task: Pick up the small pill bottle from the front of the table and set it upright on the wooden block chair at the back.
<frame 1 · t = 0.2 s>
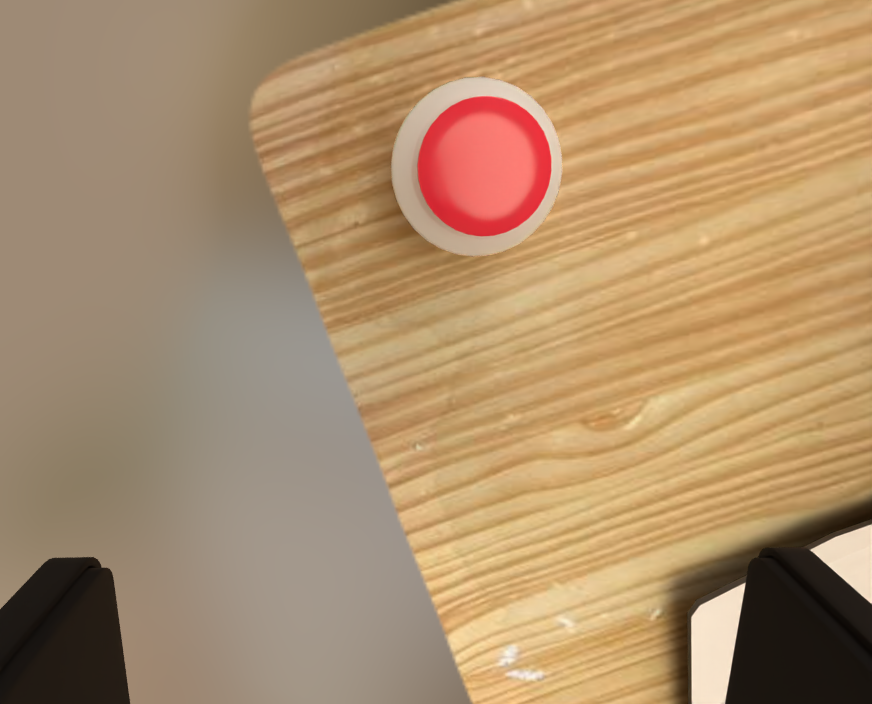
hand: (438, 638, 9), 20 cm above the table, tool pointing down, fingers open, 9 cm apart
pill bottle: (459, 173, 27), on the table
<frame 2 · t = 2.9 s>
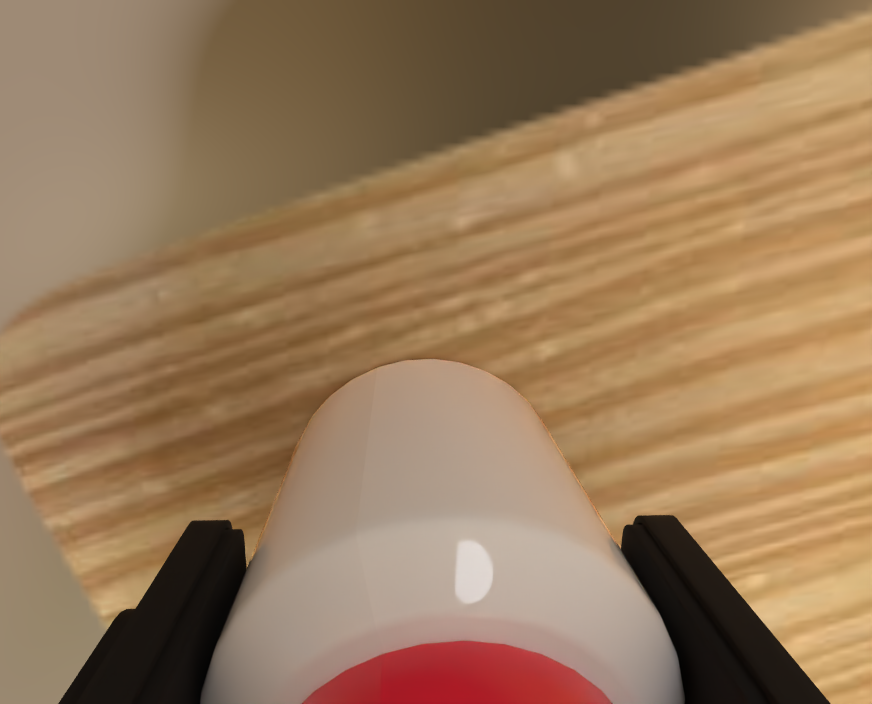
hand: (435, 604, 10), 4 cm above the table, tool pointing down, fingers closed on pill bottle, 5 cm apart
pill bottle: (425, 482, 14), on the table, touching gripper
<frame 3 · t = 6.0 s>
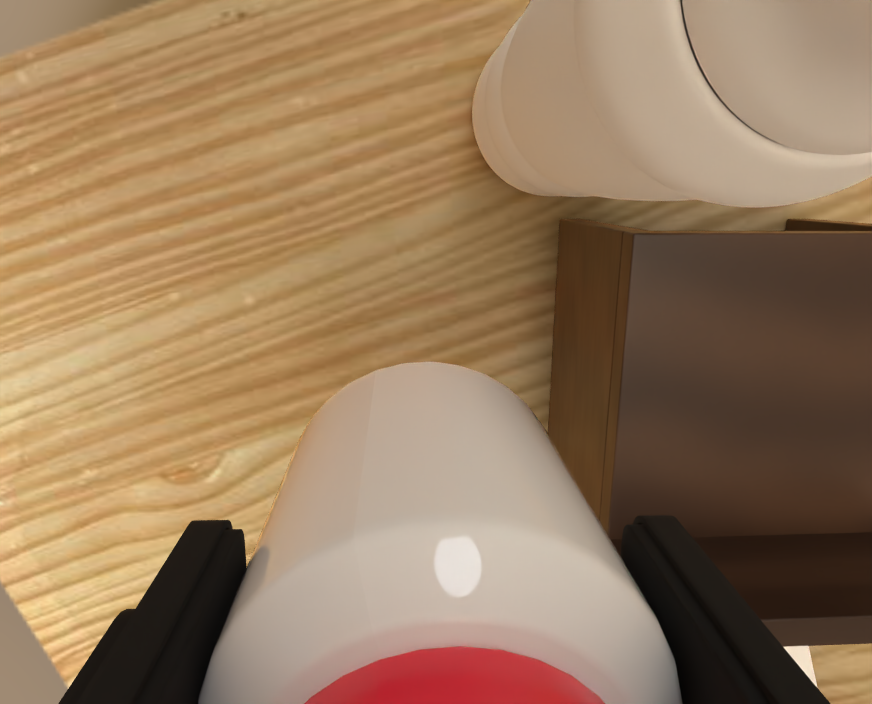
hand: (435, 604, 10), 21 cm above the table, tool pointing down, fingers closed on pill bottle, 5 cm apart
wooden block chair: (671, 341, 31), on the table
pill bottle: (424, 485, 14), point 16 cm above the table, touching gripper
water bottle: (547, 115, 28), on the table
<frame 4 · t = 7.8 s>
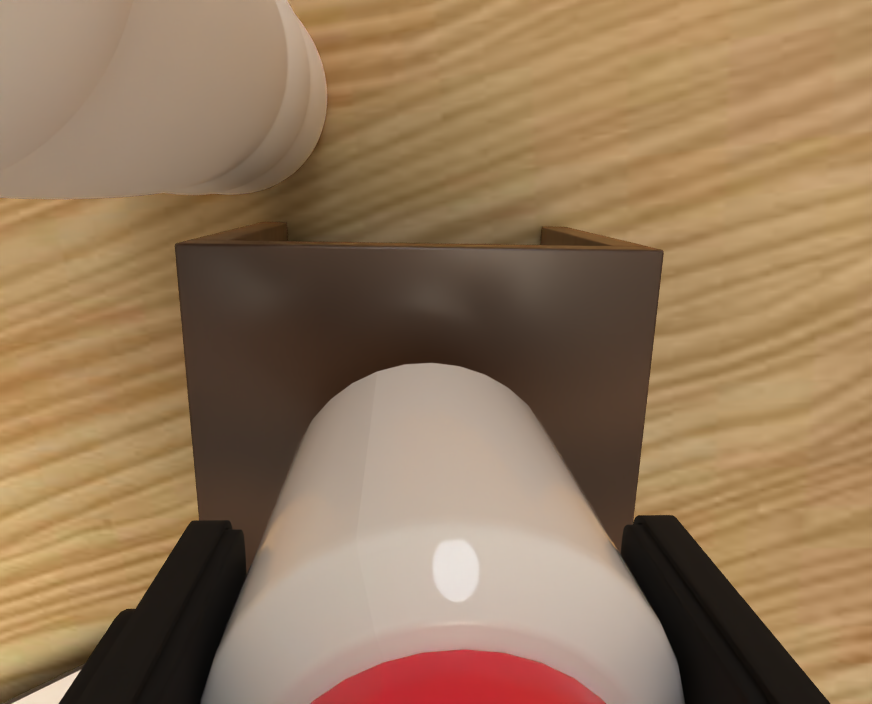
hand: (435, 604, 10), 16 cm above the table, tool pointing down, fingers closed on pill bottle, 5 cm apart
wooden block chair: (414, 370, 26), on the table
pill bottle: (425, 486, 14), point 12 cm above the table, touching gripper
water bottle: (234, 95, 23), on the table
when the fingers open (13 cm above the table, at t = 9.1 s): pill bottle stays where it is, resting on wooden block chair.
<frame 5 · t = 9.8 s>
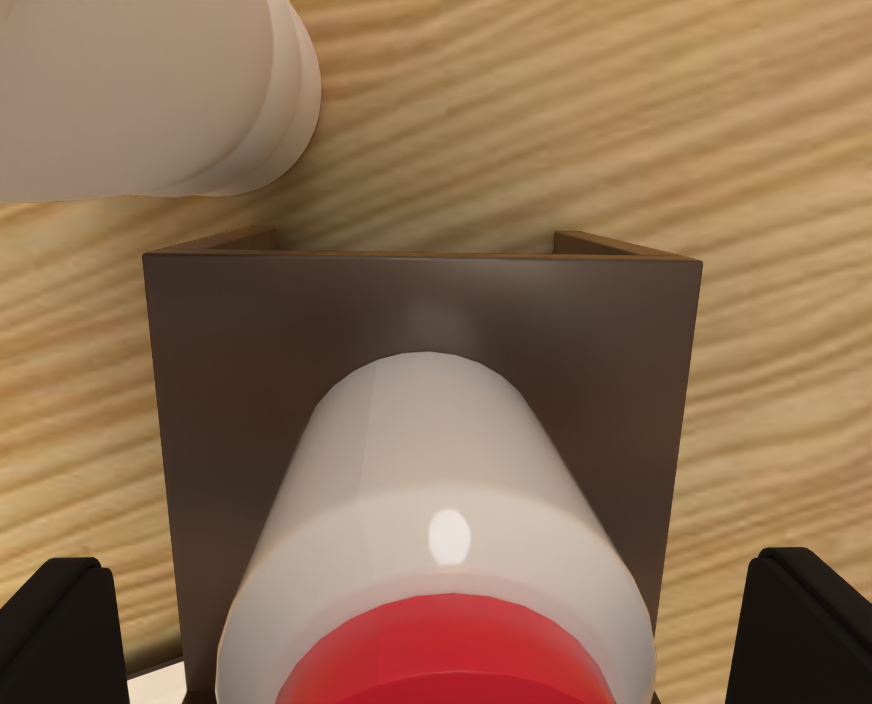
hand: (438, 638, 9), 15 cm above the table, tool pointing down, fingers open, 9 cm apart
wooden block chair: (416, 386, 24), on the table
pill bottle: (423, 469, 15), point 9 cm above the table, touching wooden block chair
water bottle: (220, 88, 21), on the table
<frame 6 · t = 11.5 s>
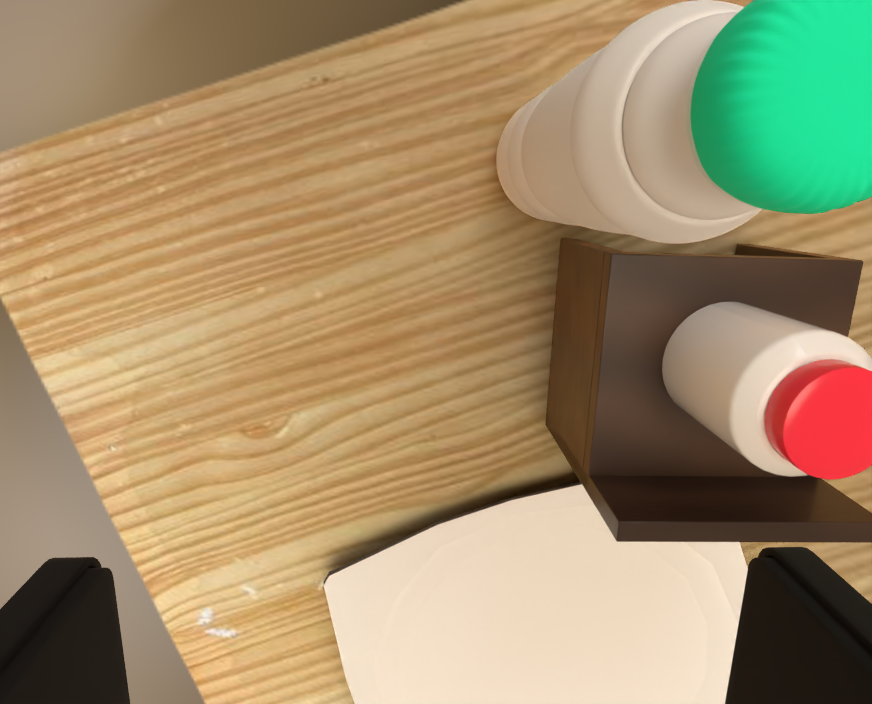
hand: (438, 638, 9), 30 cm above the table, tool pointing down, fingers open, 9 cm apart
plate: (552, 655, 45), on the table
wooden block chair: (645, 337, 39), on the table
pill bottle: (719, 360, 30), point 9 cm above the table, touching wooden block chair
water bottle: (553, 159, 36), on the table
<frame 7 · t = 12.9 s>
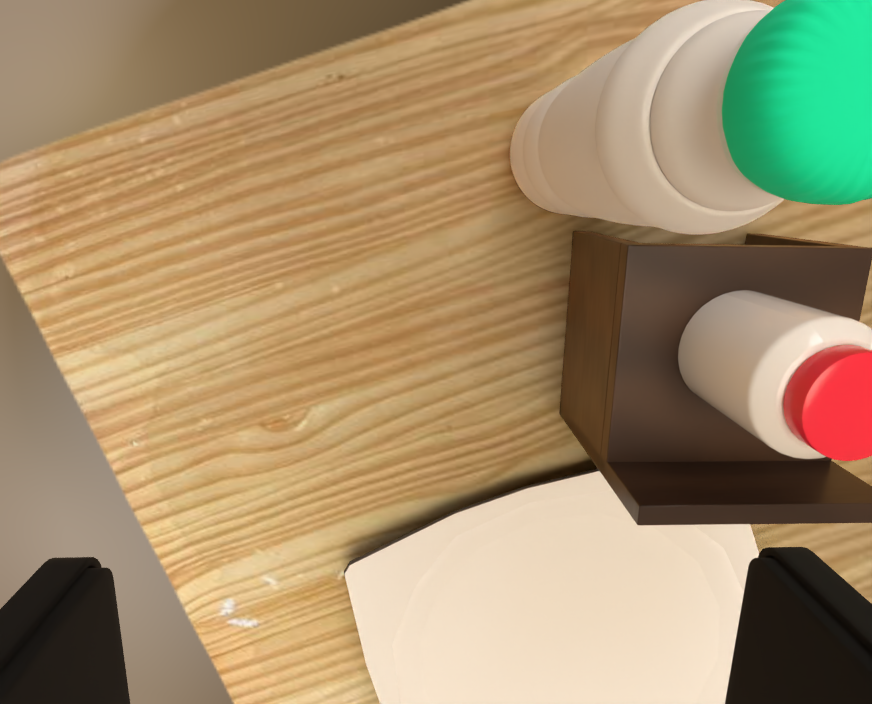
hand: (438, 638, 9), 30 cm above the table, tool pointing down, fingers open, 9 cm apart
plate: (568, 640, 46), on the table
wooden block chair: (657, 326, 40), on the table
pill bottle: (734, 348, 30), point 9 cm above the table, touching wooden block chair
water bottle: (565, 153, 37), on the table
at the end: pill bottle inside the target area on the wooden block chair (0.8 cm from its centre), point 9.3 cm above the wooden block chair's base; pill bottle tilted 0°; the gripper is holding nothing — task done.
